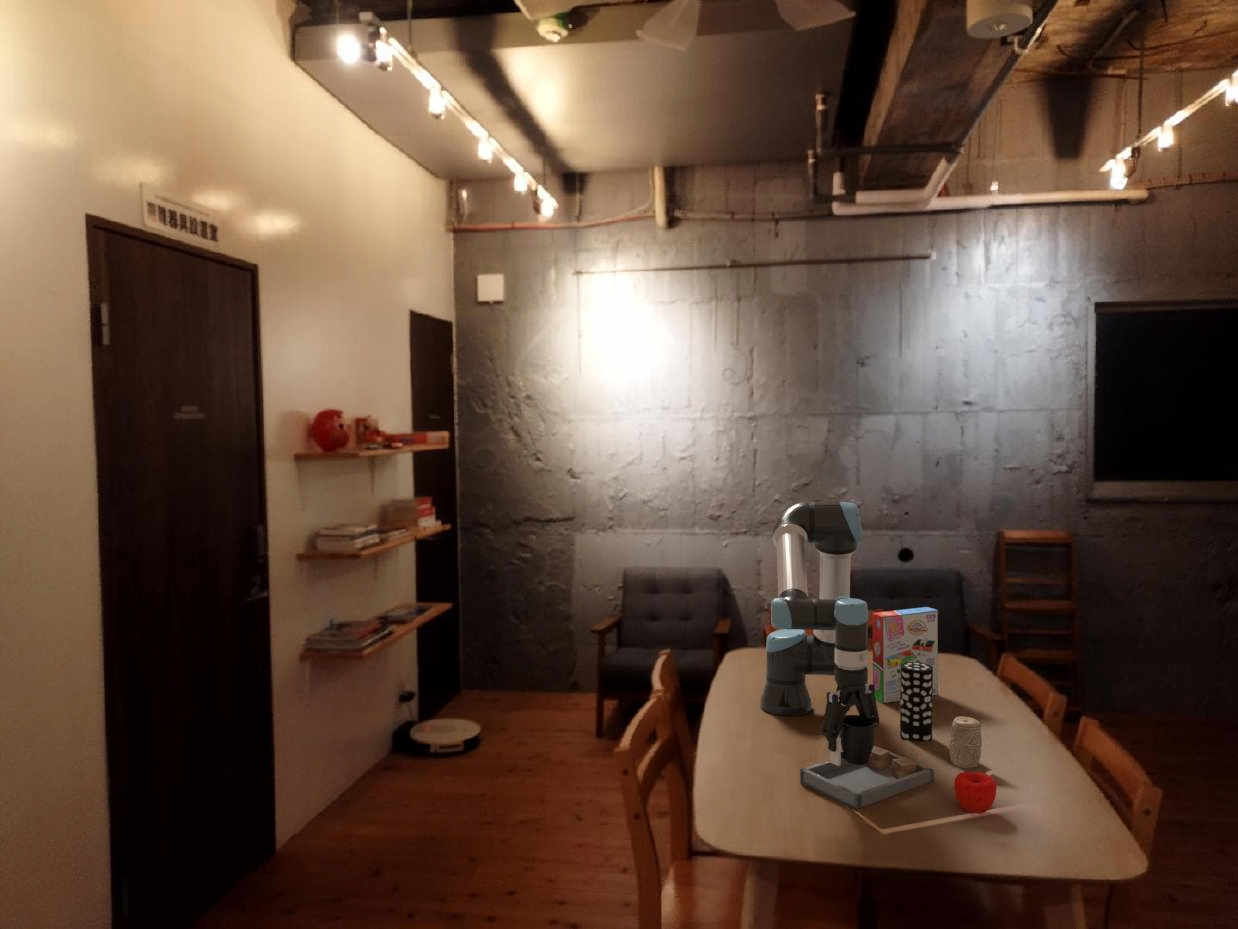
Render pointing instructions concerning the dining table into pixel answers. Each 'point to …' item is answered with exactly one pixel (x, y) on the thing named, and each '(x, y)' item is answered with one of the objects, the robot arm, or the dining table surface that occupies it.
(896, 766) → the walnut block
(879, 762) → the walnut block
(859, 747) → the mug
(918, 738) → the spotted tube
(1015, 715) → the dining table surface
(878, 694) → the game box
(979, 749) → the carving
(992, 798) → the apple
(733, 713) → the dining table surface
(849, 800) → the tray
